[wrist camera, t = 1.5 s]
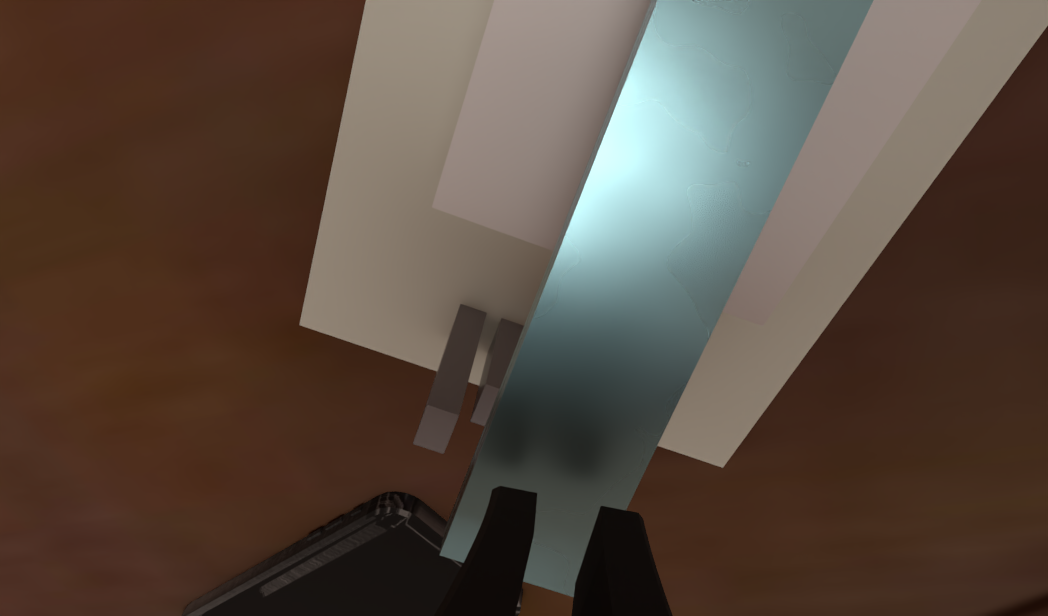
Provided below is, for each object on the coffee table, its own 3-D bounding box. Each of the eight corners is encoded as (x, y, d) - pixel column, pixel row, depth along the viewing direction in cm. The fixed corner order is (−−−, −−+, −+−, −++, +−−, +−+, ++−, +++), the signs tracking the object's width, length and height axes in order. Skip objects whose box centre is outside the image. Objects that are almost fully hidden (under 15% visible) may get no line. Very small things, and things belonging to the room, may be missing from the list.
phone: (532, 611, 29) (298, 709, 36) (535, 586, 30) (306, 686, 37) (392, 496, 26) (165, 625, 33) (400, 473, 27) (177, 603, 34)
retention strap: (1054, -434, 10) (1121, -497, 9) (580, 566, 16) (582, 606, 14) (856, -533, 10) (899, -610, 9) (445, 524, 15) (438, 562, 14)
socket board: (1346, -436, 12) (1768, -583, 8) (719, 445, 24) (741, 586, 20) (554, -840, 11) (508, -1304, 6) (310, 306, 23) (236, 424, 19)
